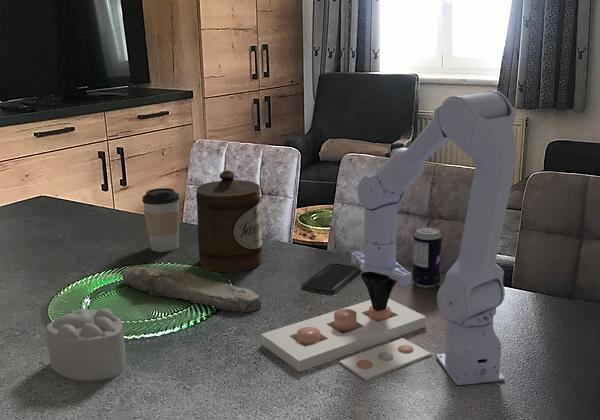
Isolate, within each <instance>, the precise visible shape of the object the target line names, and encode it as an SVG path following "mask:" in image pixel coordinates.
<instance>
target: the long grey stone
mask: <svg viewBox="0 0 600 420" xmlns="http://www.w3.org/2000/svg"><path fill="white" fill-rule="evenodd" d="M121 278H122V280H123V281H124V282H125V284H126V286H130V287H131V288H134V289H135V290H138V291H141V292H144V293H148V294H149V296H156V297H161V296H162V297H165V298H169V299H171V298H172V299H174V300H176V299H178V300H179V299H182V300H185V301H189V302H190V303H191V304H201V305H205V306H208V305H211V306H214V307H217V308H216V309H218V308H219V310H223V311H233V312H239V313H240V312H242V313H243V312H244V313H249V312H251V313H252V312H254V311H257V310H258V309H261V307H262V300H261V296H260V295H259V294H258V293H256V292H254V291H253V290H251V289H250V288H246V287H242V286H241V287H240V286H236V285H233V284H231V283H230V284H229V283H225V282H221V281H215V280H212V279H211V280H210V279H207V278H204V277H202V276H200V275H199V276H197V275H195V274H194V273H192V272H189V271H188V270H180V269H175V268H169V267H164V268H161V267H145V266H134V267H128V268H125V269H124V271H123V272H122V273H121ZM211 306H210V307H211ZM214 307H213V308H214Z"/></svg>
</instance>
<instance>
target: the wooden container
mask: <svg viewBox="0 0 600 420" xmlns="http://www.w3.org/2000/svg"><path fill="white" fill-rule="evenodd" d="M219 178H220V179H221V180H216V181H210V182H206V183H203V184H201V185H199V186H197V187H196V191H195V193H196V194H195V195H196V197H195V198H196V208H197V209H196V211H197V212H196V214H197V216H196V217H197V238H198V239H197V241H198V254H199V255H198V256H199V265H200V266H201V267H202V268H203V269H205V270H208V271H210V270H211V272H216V273H238V272H243V271H248V270H251V269H254V268H255V267H259V265H261V264H262V263H263V262H262V261H263V229H262V228H263V227H262V216H261V215H262V214H261V213H262V211H261V201H260V200H261V190H260V189H261V188H260V185H259V184H258V183H257V182H256V183H255V182H253V181H248V180H236V179H234V178H235V173H234V172H233V171H231V170H223V171H222V172H221V173H219Z"/></svg>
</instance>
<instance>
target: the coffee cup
mask: <svg viewBox="0 0 600 420" xmlns="http://www.w3.org/2000/svg"><path fill="white" fill-rule="evenodd" d="M179 200H180V194H179V193H178V192H176V191H175V190H174V188H171V187H170V188H168V187H167V188H165V187H163V188H162V187H160V188H154V189H149V190H147V191H146V193H145V194H144V195H142V201H141V202H142V203H143V209H144V210H143V212H144V217H145V225H146V230H147V235H148V239H149V244H150V249H151V251H154V252H159V253H161V252H162V253H166V252H172V251H174V250H177V249H178V248H179V247H180V243H179V237H180V233H179V232H180V205H179V204H180V203H179Z"/></svg>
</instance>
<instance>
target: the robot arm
mask: <svg viewBox="0 0 600 420" xmlns="http://www.w3.org/2000/svg"><path fill="white" fill-rule="evenodd" d="M516 113H517V111H516V109H515V108H514V106H513V104H511V102H510V100H509V99H508V98H507V96H506V95H505V94H503V93H502V92H500V91H498V90H490V91H486V92H481V93H480V92H479V93H474V94H466V95H465V94H464V95H452V96H449V97H447V98H445V99H444V101H443V102H442V103H441V105H439V106H438V107H437V108H435V109H434V111H433V117H432V118H431V120H430V121H429V122H428V123H427V125H425V127H424V128H423V129H422V131H421V132H420V133H419V134H418V135H417V136H416V138H415V139H414V140H413V142H412V143H411V144H410V145H409V146H408V147H399V148H395V149H392V150H391V151H390V152H389V155H390V156H389V158H388V159H387V160H386V161H385V162H384V163H383V164H381V165H379V166H378V167H377V168H376V169H375V170H376V171H375V172H374V174H372V175H366V176H362V178H361V179H360V181H359V183H358V185H357V189H356V190H357V191H356V193H357V198H358V200H359V202H360V204H361V205H362V206H363V208H364V216H363V217H364V218H363V219H364V220H363V221H364V222H363V223H364V229H363V231H364V237H363V238H364V239H363V240H364V241H363V242H364V243H363V244H364V245H363V246H364V247H363V248H364V249H363V251H364V252H363V251H361V250H360V251H354V252H352V253H351V255H350V256H351V257H350V259H351V263H352V264H354V265H355V264H358V265H360V266H359V267H360V269H361V272H362V271H363V272H362V273H360V277H361V280H362V281H363V283H364V285H365V287H366V289H367V292H368V295H369V298H370V299H369V300H371V303H372V307H373V309H374V310H376V311H381V310H384V309H386V306H387V303H388V299H390V296H391V293H392V291H393V289H394V287H395V285H396V284H397V282H398V284H399V285H400V286H403V287H404V286H406V285H409V284H412V272H410V271H408V270H407V269H405V268H404V267H403V266H402V265H401V264H400V263H398V262H397V218H398V217H397V215H398V213H399V212H400V206H401V203H402V201H403V199H404V198H405V193H406V190H407V189H408V188H409V186H411V185H412V184H413V183H414V182H415V181H416V180H417V179H418V178H419V177H421V175H422V174H423V173H424V170H425V162H426V161H427V160H428V159H429V158H431V157H432V155H434V154H435V153H436V152H437V151H438V150H440V149H441V148H442V147H443V146H445V145H446V144H447V143H448V142H449V141H452V143H453V144H454V145H456V146H457V147H458V148H459V149H460V150H461V151H462V152H463V153H464V154H466V155H467V156H468V157H470V158H471V159H472V160H473V161H474V163H475V167H474V172H473V177H472V184H471V188H470V194H469V199H468V206H467V210H466V216H465V222H464V227H463V231H462V238H461V244H460V248H459V253H458V254H459V255H458V258H457V259H456V261H455V262H454V263H453V265H452V266H451V267H450V268H449V269H448V271H447V272H446V273H445V278H444V282H443V283H442V285H441V286H440V287H439V289H438V291H437V293H436V300H437V305H438V309H439V311H440V313H442V315H443V318H444V319H445V320H446V328H445V329H446V330H445V331H446V333H445V352H444V353H437V354H436V356H435V358H436V359H437V360H438V361H439V363H440V364H441V366H442V367H443V369H444V370H445V371H446V372H447V374H448V375H449V377H450V378H451V380H452V381H453V382H454V383H455V385H457V386H464V385H474V384H483V383H491V382H503V381H505V376H504V375H503V373H502V372H501V371H500V370H501V368H500V367H501V355H502V344H501V341H500V339H499V337H498V335H497V334H496V331H495V329H494V317H495V316H496V314H497V308H498V307H500V306H501V305H502V304H503V302H504V300H505V296H506V295H505V294H506V292H505V286H504V275H505V271H504V270H503V268H502V267H501V266H500V265H499V264H497V263H496V260H497V256H498V253H499V252H498V251H499V247H500V241H501V236H502V232H503V227H504V222H505V216H506V213H507V207H508V202H509V198H510V192H511V188H512V183H513V179H514V173H515V169H516V165H517V158H518V152H517V145H516V140H515V139H516V138H515V133H514V124H515V120H516V115H517V114H516Z"/></svg>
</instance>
